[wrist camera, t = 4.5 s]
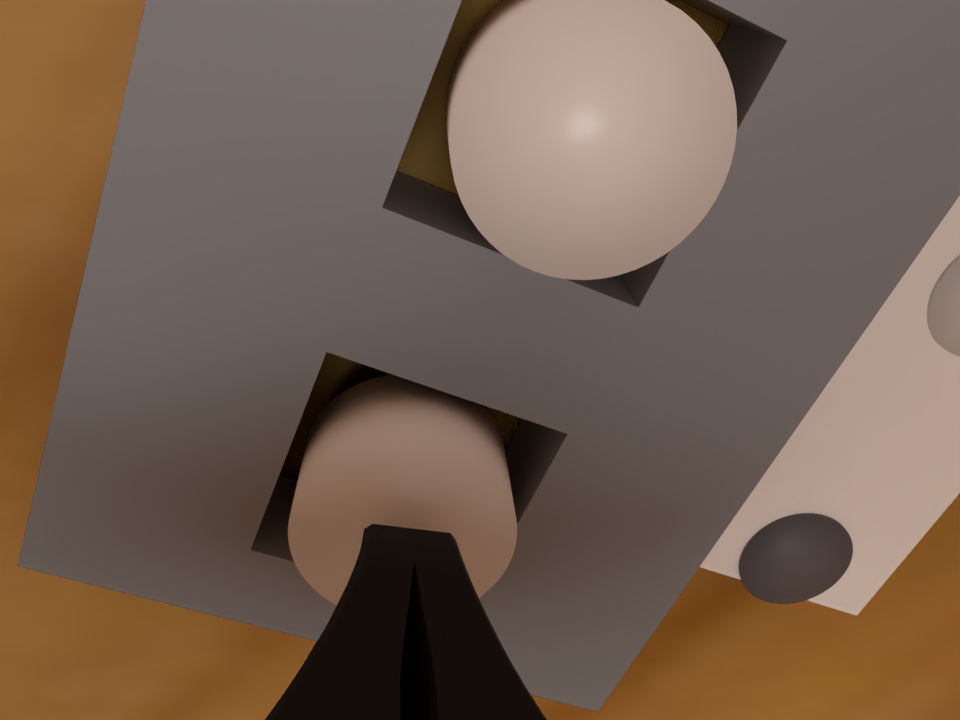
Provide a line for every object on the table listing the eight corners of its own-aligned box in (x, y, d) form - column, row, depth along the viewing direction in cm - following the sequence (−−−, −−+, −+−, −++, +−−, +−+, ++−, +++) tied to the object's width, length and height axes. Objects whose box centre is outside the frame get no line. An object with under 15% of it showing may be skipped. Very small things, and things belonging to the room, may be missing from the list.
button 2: (733, 44, 12) (792, 64, 10) (616, 262, 14) (649, 316, 12) (506, -70, 11) (523, -71, 9) (409, 178, 13) (406, 221, 11)
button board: (1311, -510, 11) (1531, -621, 9) (578, 628, 20) (597, 711, 17) (493, -1216, 8) (518, -1640, 6) (68, 487, 17) (17, 566, 15)
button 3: (537, 412, 15) (554, 483, 13) (459, 560, 17) (465, 642, 15) (343, 345, 14) (330, 410, 12) (279, 508, 16) (258, 589, 14)
